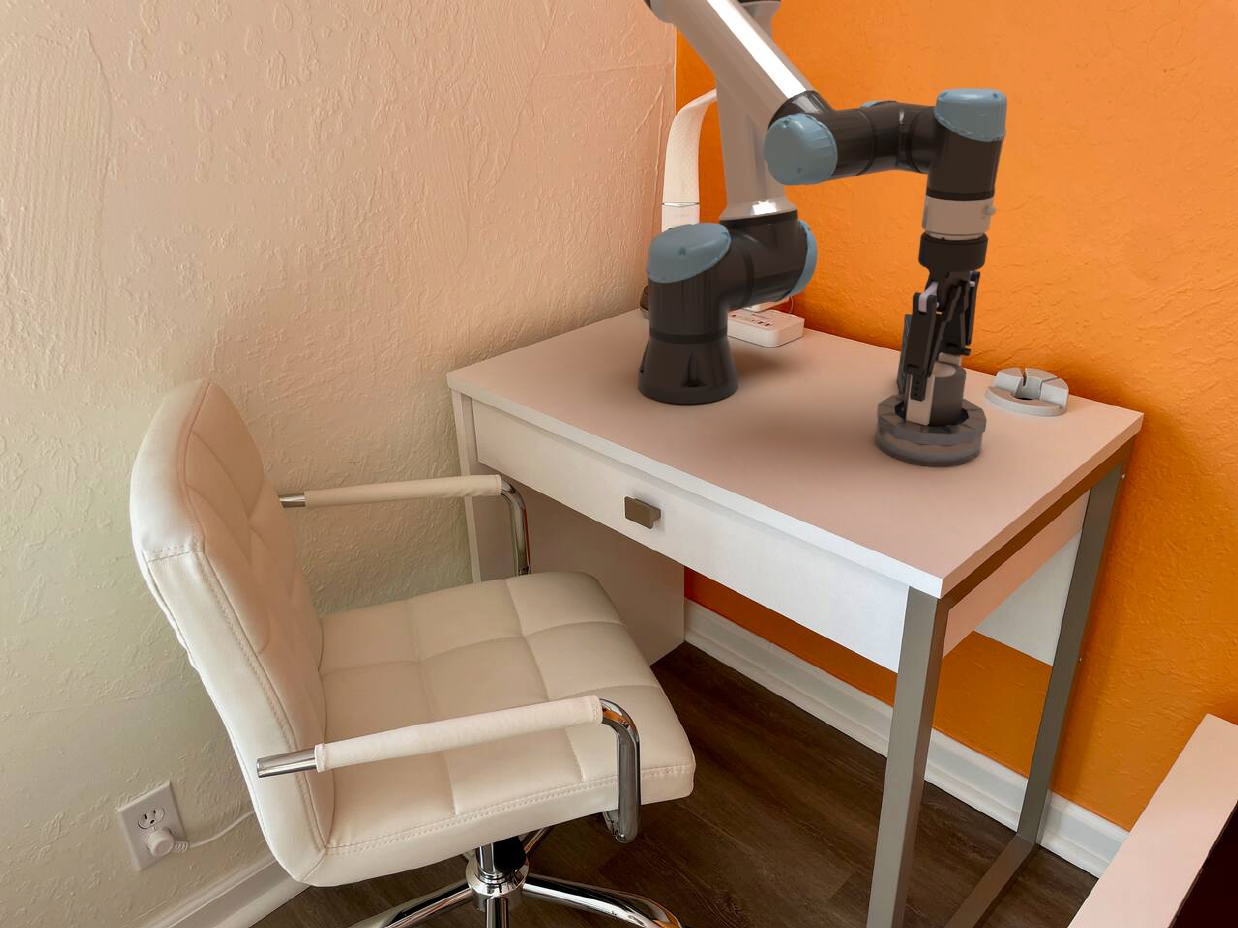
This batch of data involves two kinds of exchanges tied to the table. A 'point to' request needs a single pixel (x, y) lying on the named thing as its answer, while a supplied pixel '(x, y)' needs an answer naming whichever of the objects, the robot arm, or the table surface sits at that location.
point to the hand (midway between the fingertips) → (931, 411)
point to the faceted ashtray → (929, 435)
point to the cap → (944, 394)
